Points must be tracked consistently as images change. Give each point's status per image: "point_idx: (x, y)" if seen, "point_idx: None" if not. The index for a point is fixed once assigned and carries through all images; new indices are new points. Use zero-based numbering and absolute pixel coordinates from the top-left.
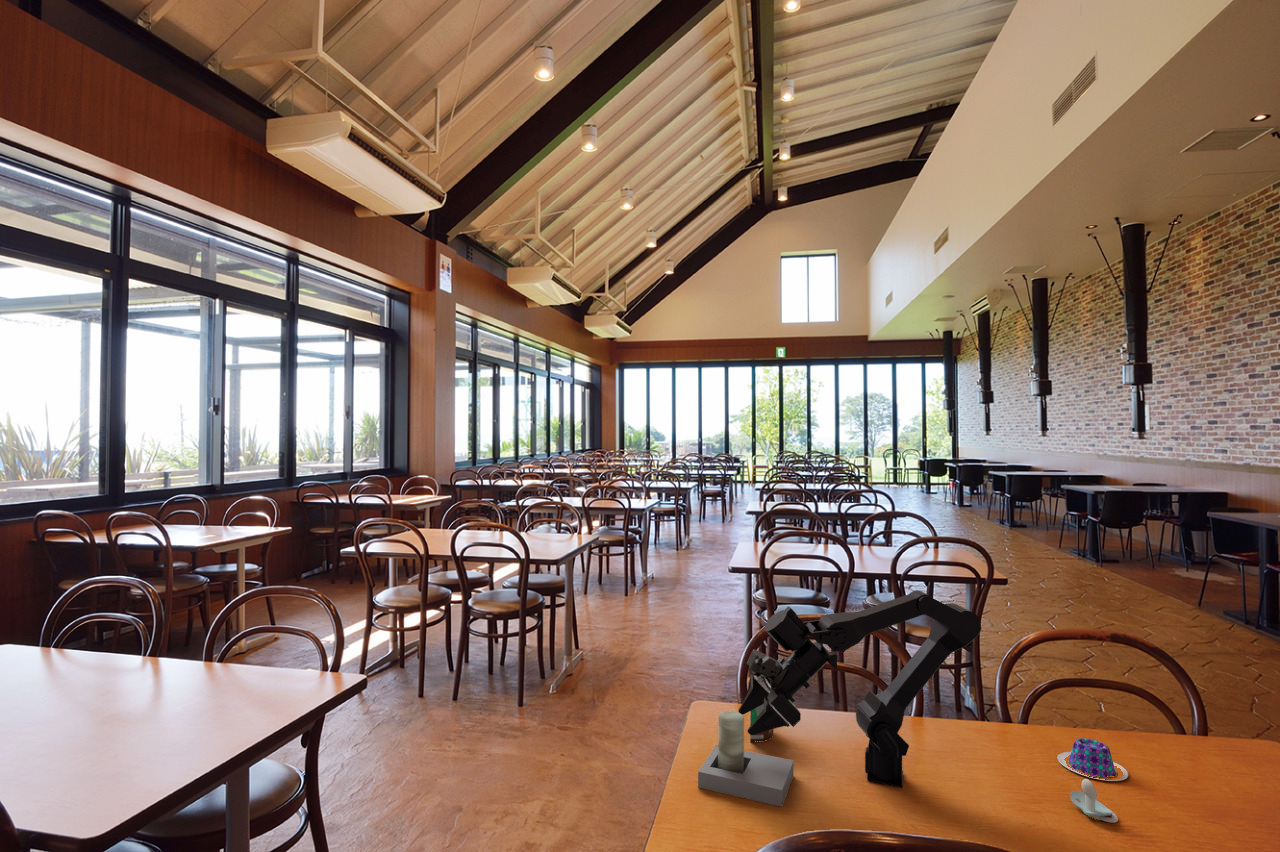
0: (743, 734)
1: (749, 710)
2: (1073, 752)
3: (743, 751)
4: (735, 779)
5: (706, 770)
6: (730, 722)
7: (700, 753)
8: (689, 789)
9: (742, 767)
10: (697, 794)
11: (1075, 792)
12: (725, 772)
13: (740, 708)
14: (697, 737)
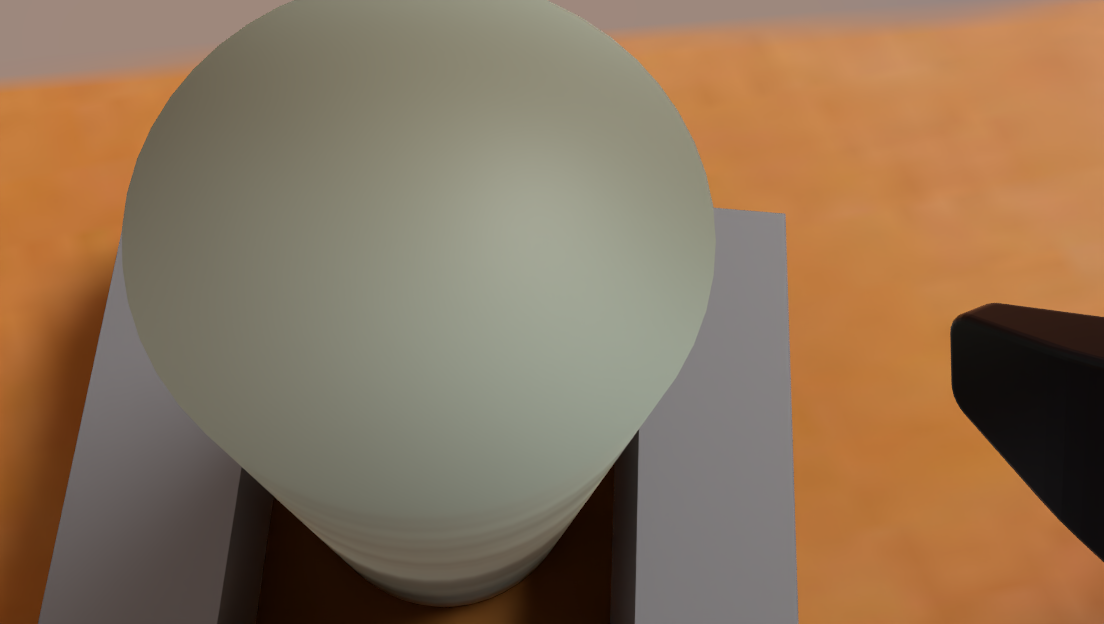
0: (405, 555)
1: (1088, 536)
2: None
3: (433, 581)
4: (53, 572)
5: None
6: (127, 255)
7: (793, 127)
8: (130, 170)
9: (402, 592)
10: (60, 249)
11: None
12: (196, 429)
13: (1009, 332)
14: (1064, 48)
